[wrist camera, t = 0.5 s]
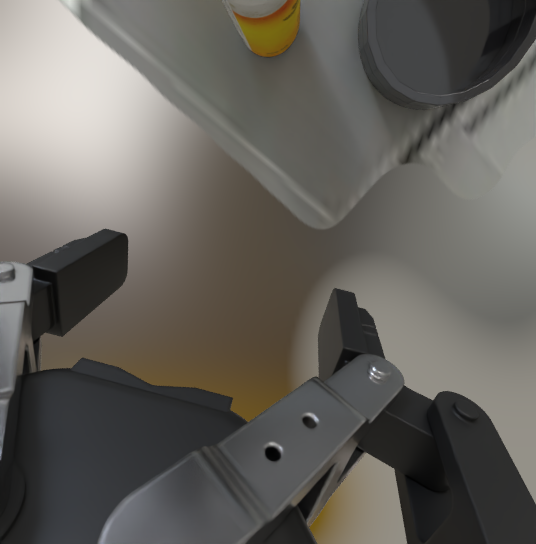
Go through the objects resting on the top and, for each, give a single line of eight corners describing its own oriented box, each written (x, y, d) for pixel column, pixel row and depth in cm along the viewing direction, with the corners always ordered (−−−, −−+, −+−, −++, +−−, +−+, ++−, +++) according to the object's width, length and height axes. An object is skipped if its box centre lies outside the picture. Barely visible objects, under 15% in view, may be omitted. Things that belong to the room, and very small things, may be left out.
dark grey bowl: (382, -87, 29) (396, -127, 24) (547, -61, 28) (590, -97, 24) (342, 97, 34) (348, 90, 30) (479, 120, 34) (505, 116, 30)
